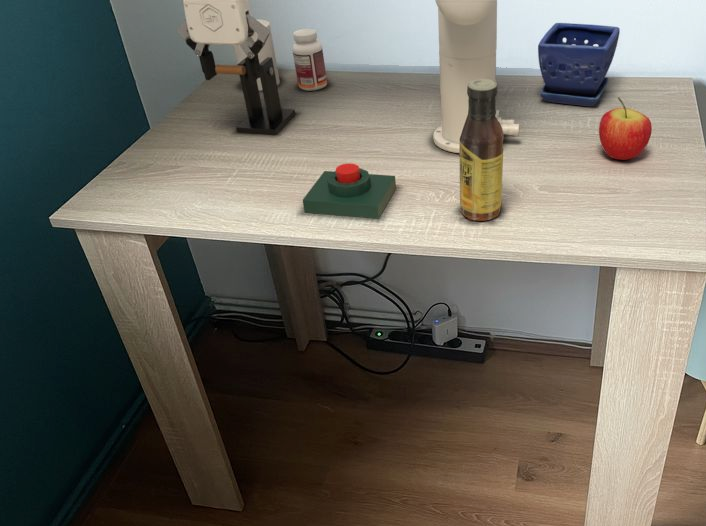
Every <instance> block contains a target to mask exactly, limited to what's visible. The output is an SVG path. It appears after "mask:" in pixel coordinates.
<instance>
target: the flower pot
mask: <svg viewBox="0 0 706 526" xmlns="http://www.w3.org/2000/svg"><path fill="white" fill-rule="evenodd" d="M620 30H621V29H620V27H618V26H611V25H601V24H586V23H573V22H572V23H570V22H555V23H554V24H553V25H552V26H551V27H550V28H549V29H548V30H547V32H545V34H544V35H543V36H542V38H541V39H540V41H539V43H538V44H537V56H538V57H537V58H538V64H539V70H540V74H541V77H542V80H543V83H544V85H543V87H542V88H541V90H540V92H539V95H540V97H541V98H542V99H543V100H544V101H545V102H548V103H556V104H564V105H572V106H573V105H574V106H583V107H593V106H594V105H596V103H598V101H599V100H600V97H601V96H602V94H603V93H604V91H605V89H606V87H607V85H608V83H609V77H606V76H607V74H608V72H609V70H610V67H611V65H612V62H613V59H614V57H615V53H616V50H617V46H618V44H619V43H618V42H619V37H620V33H621V31H620ZM564 39H566V40H565V41H564ZM586 41H587V42H586Z"/></svg>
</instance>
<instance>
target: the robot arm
mask: <svg viewBox="0 0 706 526" xmlns="http://www.w3.org/2000/svg"><path fill="white" fill-rule="evenodd" d="M434 2H435V4H436V6H437V17H438V20H437V21H438V24H437V25H438V57H439V59H438V60H439V61H438V63H439V87H440V89H439V91H440V92H439V93H440V114H441V116H440V117H441V118H440V120H441V125H440V126H438V127H437V128H436V129H435V130H434V132H433V134H432V137H433V143H434V145H435V146H437V147H438V148H439V149H442V150H443V151H446V152H450V153H454V154H460V148H459V146H460V136H461V133H462V130H463V127H464V124H465V121H466V118H467V115H468V109H469V103H468V100H469V97H468V95H467V86H468V83H470V82H471V81H473V80H476V79H489V80H493V81H495V82H496V83H497V48H498V47H497V46H498V45H497V44H498V43H497V41H498V35H497V34H498V0H435V1H434ZM182 3H183V9H184V17H185V19H184V21H183V22H181V24H180V25H179V26H178V27H177V29H176V32H177V34H178V35H179V36H180V37H181V39H182V40H183V41H185V44H186V45H187V46H188V47H189V48H190V49H191V50H192V51H193V52H194V54H195V56H196V57H198V58H199V62H200V67H201V71H202V73H203V75H204V79H205V80H206V81H211V80H212V79H213V78H215V77H216V76H217V75H218V73H216V70H215V67H216V62H215V57H214V53H213V52H212V50H210V45H219V46H220V45H221V46H233V45H240V47H241V48H242V49H243V51H244V52H245V54H246V55H247V58H246V59H245V63H246V68H247V73H248V78H249V81H250V82H255V81H256V80H257V79H258V78H259V77H260V74H261V69H260V63H259V58H258V53H259V52H260V50H261V49H262V48H263V46H264V45H265V42H266V41H267V39H268V37H269V35H270V30H269V29H268V28H266V27H265V26H264V25H263V24H261V23H260V22H259V21H257V20H258V19H256V18H255V17H253V14H252V9H251V6H250V3H249V0H182ZM254 31H255V32H256V33H257V34H258V38H257V40H256V42H255V41H254V40H253V38H252V37H251V36H253V35H254ZM495 116H496V118H497V120H498V122H500V125H501V127H502V130H503V140H504V138H505V135H508V136H518V137H519V136H520V130H521V123H516V119H511V118H510V119H503V117H500V109H496V115H495Z"/></svg>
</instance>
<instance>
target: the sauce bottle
mask: <svg viewBox="0 0 706 526" xmlns="http://www.w3.org/2000/svg"><path fill="white" fill-rule="evenodd" d="M467 95H468V97H469V100H468V103H469V109H468V115H467V118H466V121H465V124H464V127H463V130H462V133H461V136H460V146H459V148H460V153H459V204H460V212H461V214H462V215H463V216H464V217H465V218H467V219H468V220H470V221H479V222H483V221H485V222H486V221H490V220H493V219H496V218H497V217H498V216H499V214H500V212H501V205H502V195H503V172H504V170H503V169H504V167H503V166H504V148H503V147H504V144H503V143H504V139H503V130H502V127H501V125H500V122H498V120H497V118H496V116H495V115H496V110H497V109H496V102H497V96H498V83H497V81H496V82H495V81H493V80H489V79H476V80H473V81H471V82H470V83H468V86H467Z"/></svg>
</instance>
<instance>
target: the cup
mask: <svg viewBox="0 0 706 526" xmlns="http://www.w3.org/2000/svg"><path fill="white" fill-rule="evenodd" d="M256 20H257V21H259V22H260V23H261V24H263V25H264V26H265V27H266V28H268V29H269V30H270V35H269V37H268V39H267V41H266V42H265V45H264V46H263V48H262V49H261V50H260V52H259V53H258V58H259V63H261V62H262V61H263V60H265V59H266V58H267V57H272V59H273V65H274V71H275V76H276V82H277V86H279V85H280V83H281V81H280V76H279V70H278V63H277V58H276V53H275V46H274V41H273V35H272V29H271V25H270V24H271V23H270V22H269V21H268V20H265V19H256ZM251 37H252V38H253V40H254V41H255V42H256V40H257V38H258V34H257V33H256V32H255V31H254V35H253V36H251ZM232 46H233V51H234V55H235V61H236V65H237V64H239V63H240V62H241V61H242V60H244V59H245V58H246V57H247V55H246V54H245V52H244V51H243V49H242V48H241V47H240V45H232ZM240 84H241V83H240ZM257 84H258V89H259V92H261V91H263V90H262V85H261V80H260V78H258V79H257ZM241 86H242V84H241Z"/></svg>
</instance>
